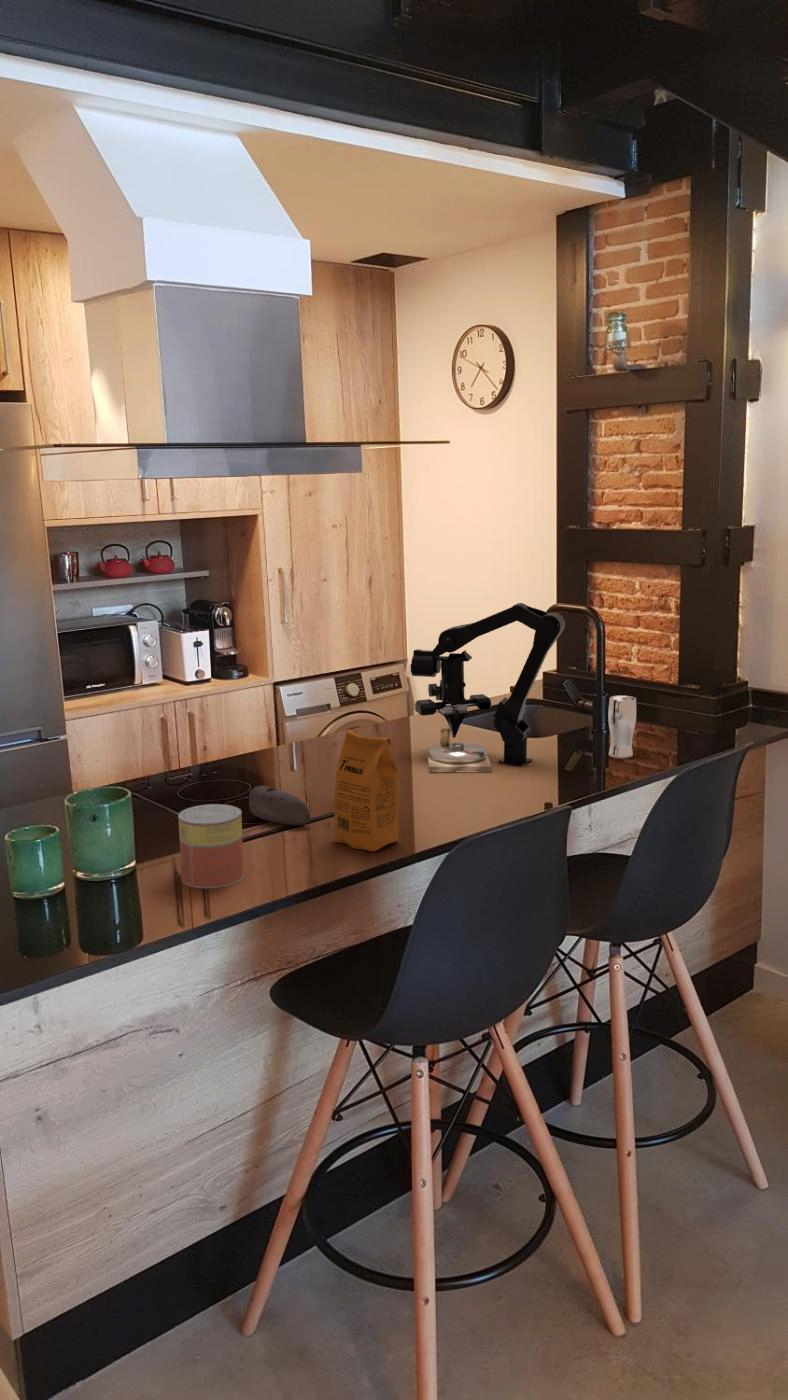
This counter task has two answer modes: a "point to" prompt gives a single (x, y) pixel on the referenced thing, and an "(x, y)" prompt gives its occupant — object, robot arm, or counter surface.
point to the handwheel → (456, 750)
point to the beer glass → (621, 725)
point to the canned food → (211, 845)
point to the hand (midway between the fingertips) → (453, 737)
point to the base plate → (458, 765)
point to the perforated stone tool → (278, 806)
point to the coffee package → (366, 793)
